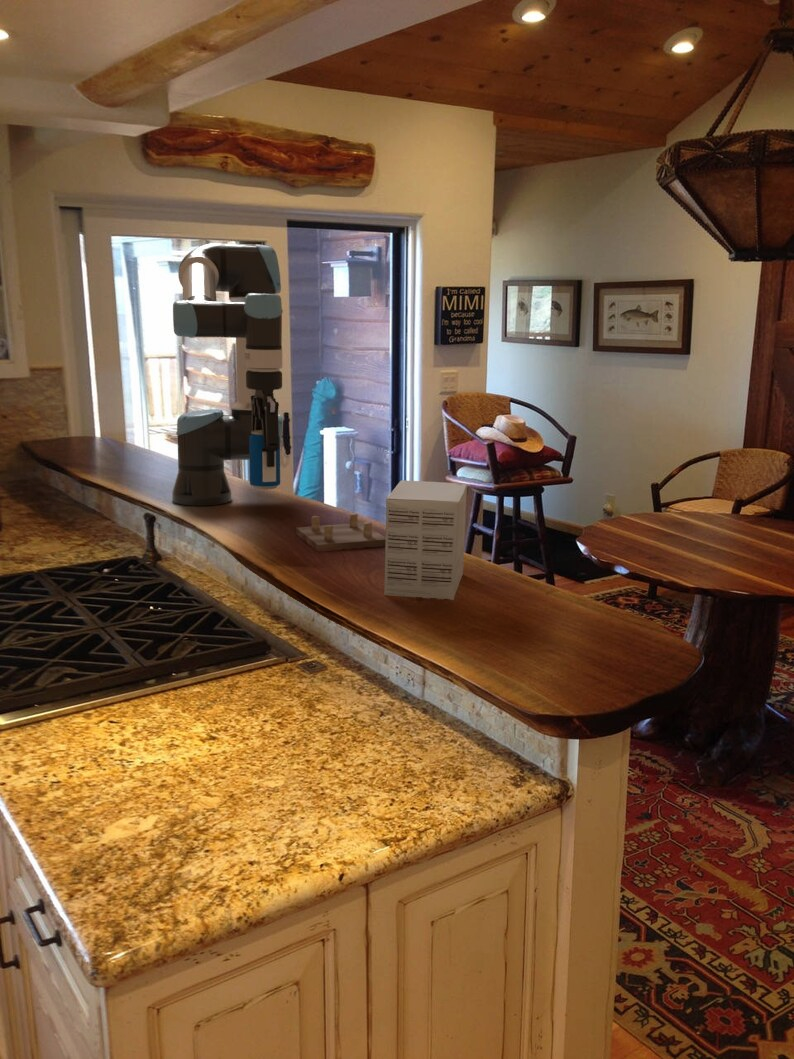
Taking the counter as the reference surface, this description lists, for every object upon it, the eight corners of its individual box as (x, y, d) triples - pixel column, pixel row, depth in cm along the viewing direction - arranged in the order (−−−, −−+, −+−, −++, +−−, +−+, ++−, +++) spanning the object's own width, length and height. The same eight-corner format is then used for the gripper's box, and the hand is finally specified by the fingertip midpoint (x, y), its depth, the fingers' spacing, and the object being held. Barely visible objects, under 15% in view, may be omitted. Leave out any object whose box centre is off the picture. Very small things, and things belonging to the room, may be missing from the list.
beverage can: (283, 484, 199) (282, 430, 196) (276, 490, 193) (276, 434, 190) (254, 483, 200) (253, 429, 196) (246, 489, 193) (245, 433, 190)
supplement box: (397, 569, 180) (399, 479, 175) (464, 574, 178) (468, 483, 173) (381, 595, 163) (383, 497, 159) (455, 601, 161) (459, 501, 157)
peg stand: (296, 534, 205) (295, 514, 204) (362, 529, 211) (362, 510, 210) (317, 551, 191) (317, 530, 190) (388, 545, 197) (388, 525, 196)
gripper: (235, 365, 197) (237, 470, 203) (257, 374, 180) (259, 488, 186) (269, 365, 200) (270, 469, 206) (294, 373, 183) (294, 486, 188)
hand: (265, 478), depth 196 cm, fingers closed on beverage can, 6 cm apart
